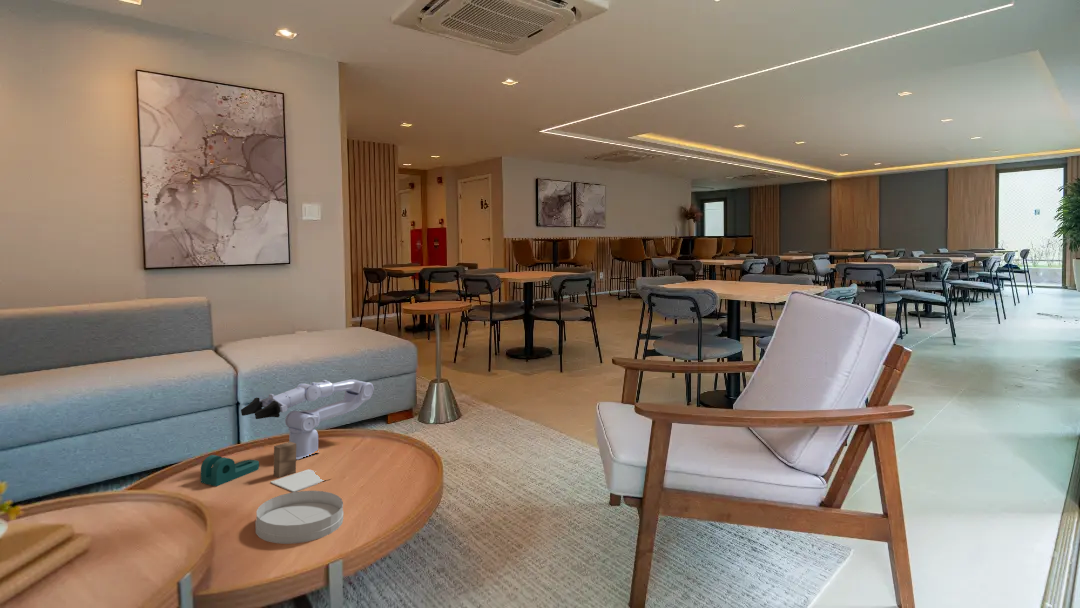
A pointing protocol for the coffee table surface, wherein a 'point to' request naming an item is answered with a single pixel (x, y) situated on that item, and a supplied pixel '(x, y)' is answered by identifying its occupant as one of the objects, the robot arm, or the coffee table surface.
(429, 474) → the coffee table surface
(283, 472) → the walnut block
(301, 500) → the dish
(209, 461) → the bracket
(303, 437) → the robot arm
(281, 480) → the grey mat
